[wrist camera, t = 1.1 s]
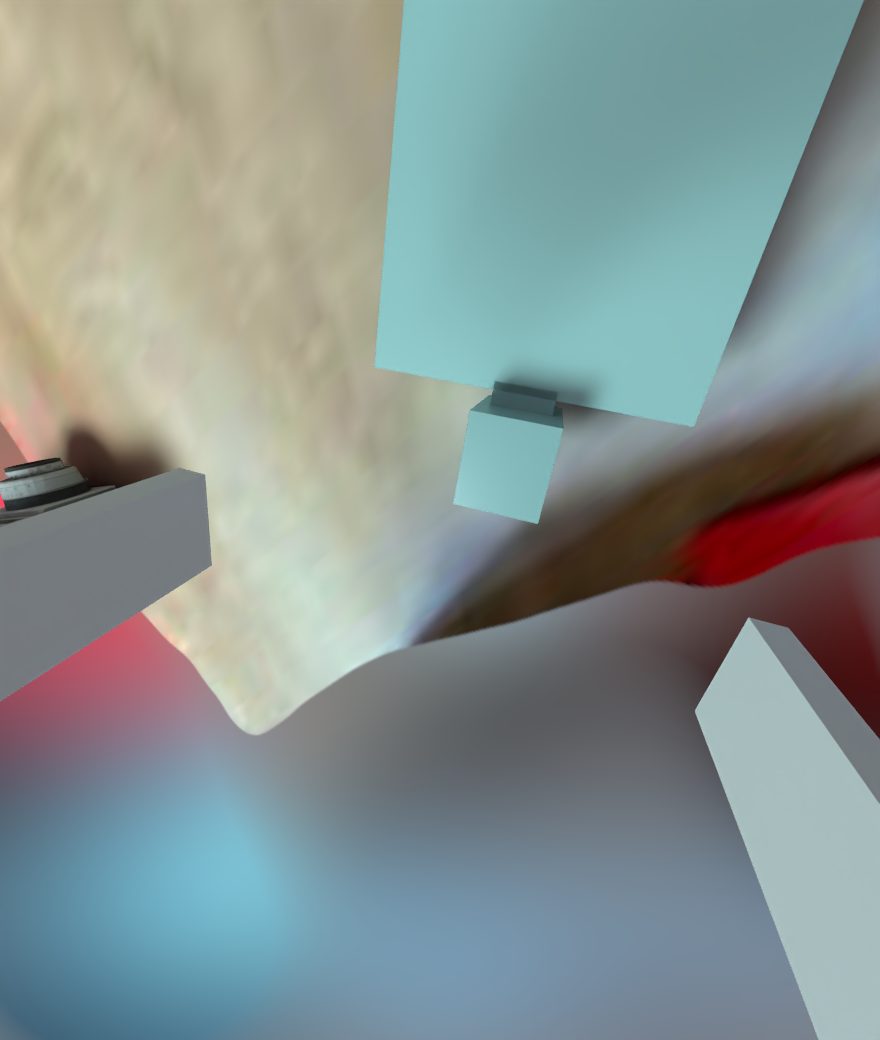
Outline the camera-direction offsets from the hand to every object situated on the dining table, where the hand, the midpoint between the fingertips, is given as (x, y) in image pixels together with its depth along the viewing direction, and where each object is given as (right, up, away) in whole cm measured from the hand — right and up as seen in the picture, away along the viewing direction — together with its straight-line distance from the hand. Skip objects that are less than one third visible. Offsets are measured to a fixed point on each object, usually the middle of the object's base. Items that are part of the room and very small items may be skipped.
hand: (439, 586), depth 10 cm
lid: (+6, +15, +10) cm, 19 cm away
